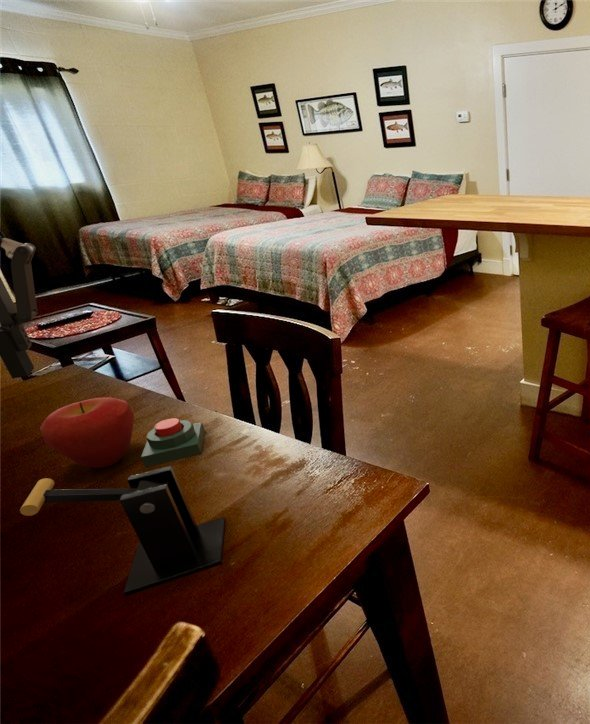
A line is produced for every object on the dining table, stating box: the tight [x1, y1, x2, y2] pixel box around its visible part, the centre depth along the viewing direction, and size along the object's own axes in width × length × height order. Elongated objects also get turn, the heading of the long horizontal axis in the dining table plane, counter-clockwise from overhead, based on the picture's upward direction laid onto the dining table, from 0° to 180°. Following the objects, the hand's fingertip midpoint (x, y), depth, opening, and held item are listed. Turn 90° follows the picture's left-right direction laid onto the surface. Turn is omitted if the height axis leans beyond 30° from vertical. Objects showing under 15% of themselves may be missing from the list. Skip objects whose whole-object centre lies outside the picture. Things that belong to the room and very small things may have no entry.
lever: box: [19, 477, 169, 517], centre depth 56 cm, size 12×5×2 cm, turn 119°
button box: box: [140, 419, 206, 468], centre depth 84 cm, size 8×8×4 cm
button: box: [153, 417, 182, 437], centre depth 83 cm, size 4×4×2 cm
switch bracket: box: [119, 465, 227, 597], centre depth 60 cm, size 10×9×13 cm
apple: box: [39, 396, 135, 469], centre depth 79 cm, size 11×11×12 cm
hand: (23, 373), depth 64 cm, fingers closed
